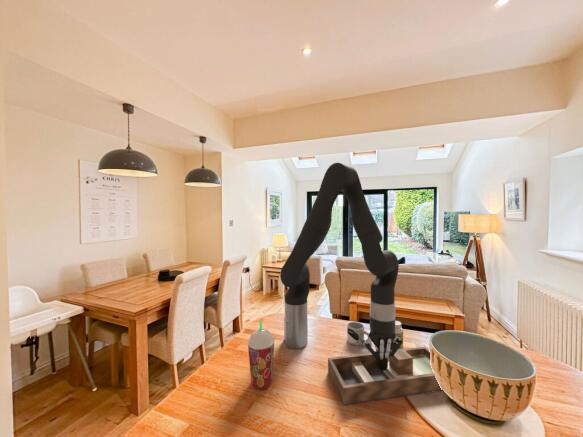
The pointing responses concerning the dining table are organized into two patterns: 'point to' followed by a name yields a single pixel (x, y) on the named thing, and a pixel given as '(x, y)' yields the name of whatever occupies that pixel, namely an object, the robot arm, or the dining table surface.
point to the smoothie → (261, 357)
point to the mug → (356, 333)
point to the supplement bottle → (399, 332)
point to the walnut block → (401, 362)
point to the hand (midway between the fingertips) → (382, 368)
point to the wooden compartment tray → (380, 377)
